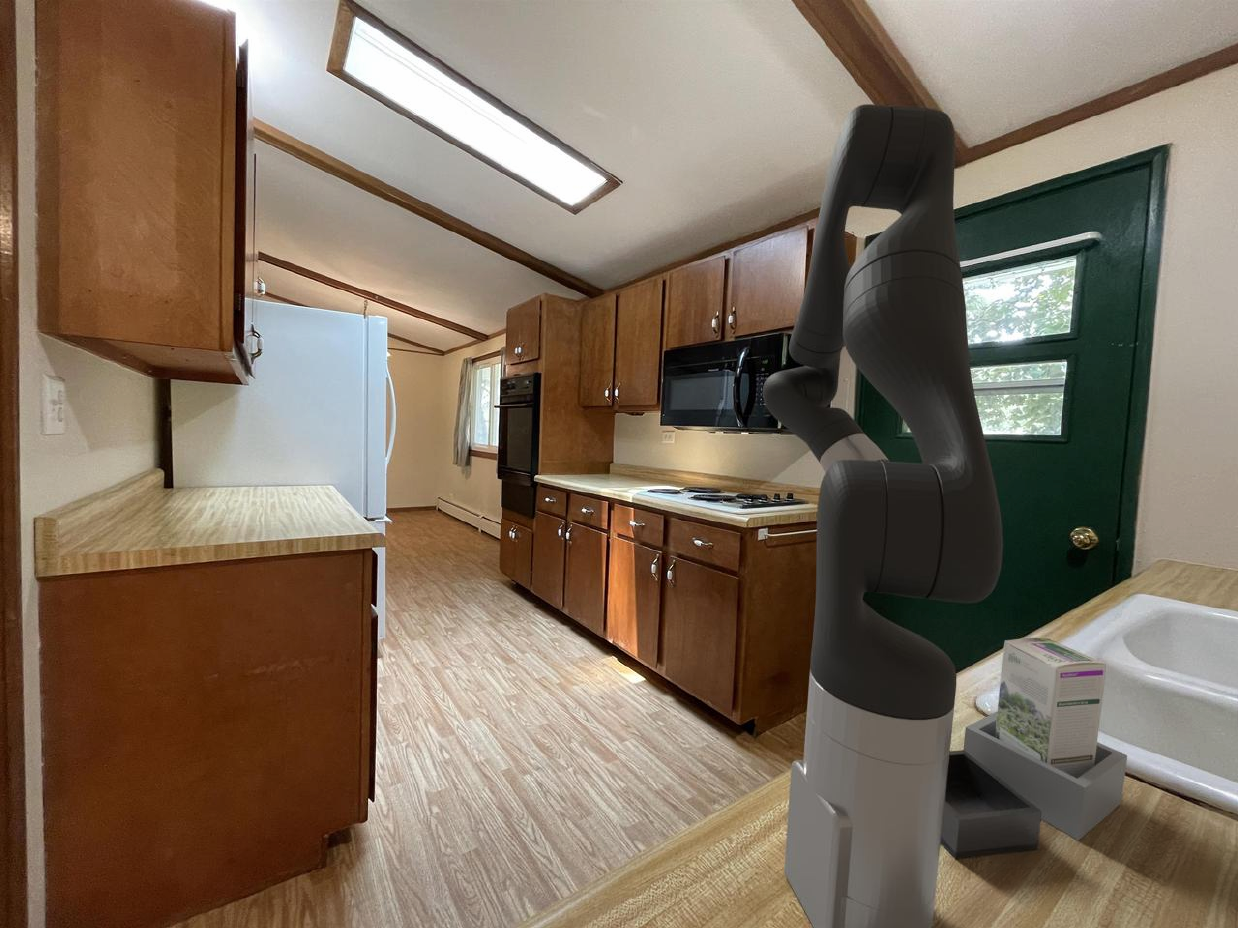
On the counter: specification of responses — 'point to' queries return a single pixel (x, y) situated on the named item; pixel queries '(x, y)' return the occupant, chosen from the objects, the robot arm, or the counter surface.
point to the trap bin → (985, 812)
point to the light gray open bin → (1052, 780)
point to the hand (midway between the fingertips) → (943, 584)
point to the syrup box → (1050, 703)
